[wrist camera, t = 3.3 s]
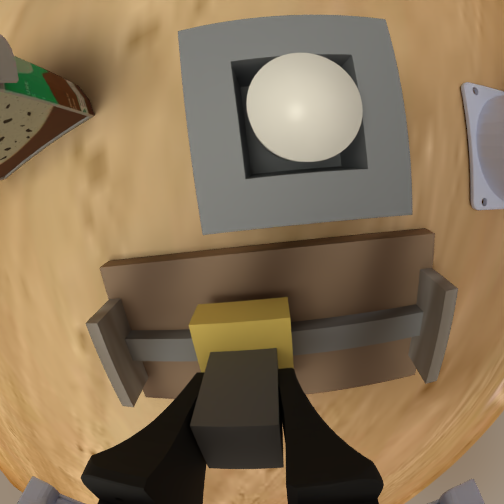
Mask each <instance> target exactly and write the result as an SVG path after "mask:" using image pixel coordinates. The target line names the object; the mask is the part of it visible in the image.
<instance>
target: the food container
mask: <svg viewBox="0 0 504 504" xmlns="http://www.w3.org/2000/svg"><path fill="white" fill-rule="evenodd" d="M93 116H95V115H94V112H93V110H92V107H91V104H90V101H89V99H88V98H87V97H86V95H85V94H84V93H83V91H82V90H81V89H80V87H79V86H78V85H76V84H74V83H72V82H70V81H68V80H66V79H64V78H62V77H60V76H58V75H56V74H54V73H52V72H49V71H47V70H45V69H43V68H41V67H38V66H36V65H34V64H32V63H29V62H27V61H25V60H23V59H20V58H18V57H16V56H14V55H13V52H12V49H11V47H10V45H9V44H8V42H7V40H6V39H5V38H4V37H3V36H2V35H0V180H3V179H6V178H7V177H8V176H10V175H11V174H12V173H13V172H14V171H16V170H17V169H18V168H19V167H21V166H22V165H23V164H24V163H26V162H27V161H28V160H30V159H31V158H32V157H33V156H35V155H36V154H37V153H39V152H40V151H42V150H43V149H44V148H46V147H47V146H49V145H50V144H51V143H53V142H54V141H56V140H57V139H59V138H60V137H62V136H63V135H65V134H66V133H68V132H69V131H71V130H72V129H74V128H75V127H77V126H79V125H80V124H82V123H83V122H85V121H87V120H88V119H90V118H92V117H93Z"/></svg>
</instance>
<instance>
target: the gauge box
mask: <svg viewBox="0 0 504 504" xmlns="http://www.w3.org/2000/svg"><path fill="white" fill-rule="evenodd" d="M178 39H179V51H180V63H181V73H182V84H183V93H184V103H185V112H186V120H187V129H188V137H189V145H190V152H191V160H192V167H193V174H194V181H195V188H196V195H197V202H198V208H199V215H200V221H201V227H202V233H203V235H207V234H216V233H224V232H233V231H242V230H252V229H261V228H270V227H280V226H290V225H300V224H310V223H321V222H331V221H342V220H354V219H365V218H377V217H389V216H402V215H412V180H411V163H410V151H409V140H408V131H407V122H406V115H405V108H404V101H403V95H402V89H401V83H400V78H399V73H398V68H397V63H396V59H395V54H394V50H393V46H392V42H391V38H390V34H389V31H388V27H387V23H386V20H385V19H377V18H368V17H357V16H341V15H286V16H271V17H259V18H250V19H241V20H234V21H227V22H221V23H215V24H210V25H204V26H199V27H195V28H190V29H186V30H181V31H178ZM290 53H311V54H316V55H319V56H322V57H325V58H327V59H329V60H331V61H333V62H335V63H336V64H337V65H339V66H340V67H341V68H343V69H344V70H345V71H346V72H347V73H348V75H349V76H350V77H351V78H352V80H353V81H354V83H355V84H356V86H357V88H358V91H359V93H360V96H361V101H362V109H363V113H362V121H361V125H360V128H359V131H358V133H357V135H356V137H355V138H354V140H353V141H352V142H351V143H350V145H349V146H348V147H347V148H345V149H344V150H343V151H342V152H340V153H339V154H337V155H335V156H333V157H331V158H328V159H325V160H321V161H315V162H295V161H288V160H284V159H281V158H279V157H277V156H275V155H273V154H271V153H270V152H269V151H267V150H266V149H265V148H264V147H263V146H262V145H261V143H260V142H259V140H258V139H257V137H256V135H255V133H254V131H253V128H252V126H251V124H250V121H249V118H248V113H247V104H246V102H247V94H248V89H249V87H250V84H251V82H252V80H253V78H254V76H255V75H256V74H257V72H258V71H259V70H260V69H261V68H262V67H263V66H264V65H266V64H267V63H268V62H270V61H271V60H273V59H275V58H277V57H280V56H282V55H286V54H290Z"/></svg>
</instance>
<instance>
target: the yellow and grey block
mask: <svg viewBox="0 0 504 504" xmlns="http://www.w3.org/2000/svg"><path fill="white" fill-rule="evenodd" d="M189 329H190V333H191V337H192V341H193V344H194V348H195V352H196V356H197V359H198V363H199V366H200V370H201V372H205V373H204V376H203V380H202V383H201V387H200V390H199V394H198V398H197V401H196V405H195V409H194V412H193V416H192V419H191V423H190V427H191V430H192V432H193V434H194V437H195V439H196V441H197V444H198V446H199V448H200V450H201V452H202V455H203V457H204V459H205V461H206V463H207V465H208V467H209V468H220V469H262V468H282V467H284V465H283V432H282V415H281V405H280V395H279V385H278V369H281V368H293V369H294V365H293V349H292V334H291V320H290V312H289V304H288V297H281V298H271V299H260V300H249V301H237V302H224V303H210V304H198V305H197V307H196V310H195V312H194V314H193V316H192V318H191V321H190V323H189Z"/></svg>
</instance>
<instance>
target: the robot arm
mask: <svg viewBox="0 0 504 504" xmlns="http://www.w3.org/2000/svg"><path fill="white" fill-rule="evenodd" d="M473 90H474V91H475V94H474V93H473ZM461 91H462V97H463V103H464V109H465V116H466V124H467V133H468V143H469V156H470V179H471V206H472V208H474V209H476V210H491V209H504V91H500V90H497V89H493V88H490V87H486V86H482V85H477V84H473V83H469V82H466V83H463V84H462V86H461ZM482 199H483V204H482ZM204 373H205V372H197V373H196V374H195V375H194V376H193V378H192V379H191V380H190V381H189V383H188V384H187V385H186V386H185V388H184V389H183V390H182V391H181V393H180V394H179V395H178V396H177V397H176V398H175V400H174V401H173V402H172V403H171V404H170V405H169V406H168V407H167V408H166V409H165V410H164V411H163V412H162V413H161V414H160V415H159V416H158V417H157V418H156V419H155V420H154V421H152V422H151V423H150V424H149V425H148V426H146V427H145V428H144V429H142V430H141V431H139V432H138V433H136V434H135V435H133V436H132V437H130V438H129V439H127V440H125V441H123V442H122V443H120V444H118V445H116V446H114V447H112V448H110V449H107V450H105V451H102V452H100V453H97V454H95V455H92V456H91V458H90V460H89V461H88V463H87V465H86V467H85V469H84V472H83V474H82V476H81V479H82V482H83V483H84V485H85V486H86V487H87V488H88V489H89V490H90V491H91V492H92V493H93V494H94V495H95V496H97V497H98V498H99V502H98V504H203V491H204V480H205V471H206V464H207V463H206V461H205V459H204V457H203V455H202V452H201V450H200V448H199V446H198V444H197V441H196V439H195V437H194V434H193V432H192V430H191V427H190V423H191V419H192V416H193V412H194V409H195V405H196V401H197V398H198V394H199V390H200V387H201V383H202V380H203V376H204ZM278 385H279V395H280V405H281V415H282V424H283V430H284V437H285V443H286V488H287V499H288V504H379V503H378V497H379V495H380V493H381V491H382V489H383V486H384V484H383V480H382V478H381V475H380V473H379V471H378V470H377V468H376V466H375V465H374V463H373V462H372V461H371V460H369V459H368V458H366V457H364V456H363V455H361V454H360V453H358V452H357V451H356V450H354V449H353V448H352V447H350V446H349V445H348V444H347V443H346V442H345V441H343V440H342V439H341V438H340V437H339V436H338V435H337V434H336V433H335V432H334V431H333V430H332V429H331V428H330V427H329V426H328V425H327V424H326V423H325V422H324V420H323V419H322V418H321V417H320V416H319V414H318V413H317V412H316V410H315V409H314V407H313V406H312V405H311V403H310V401H309V400H308V398H307V397H306V395H305V393H304V391H303V390H302V388H301V386H300V384H299V381H298V379H297V377H296V374H295V370H294V369H293V368H281V369H278ZM17 504H85V503H82V502H79V501H77V500H74V499H72V498H69V497H67V496H65V495H62V494H60V493H59V492H58V491H57V490H56V489H55V488H54V487H53V486H51V485H50V484H48V483H46V482H44V481H42V480H40V479H38V478H36V477H34V476H32V478H31V480H30V481H29V483H28V485H27V487H26V488H25V490H24V492H23V494H22V495H21V497H20V499H19V501H18V503H17ZM428 504H485V503H484V501H483V499H482V496H481V494H480V492H479V489H478V487H477V485H476V483H475V481H474V479H471V480H469V481H466V482H464V483H462V484H460V485H458V486H456V487H453V488H451V489H449V490H448V491H446V492H445V493H443V494H442V496H441V497H440V499H439V500H436V501H433V502H431V503H428Z"/></svg>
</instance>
